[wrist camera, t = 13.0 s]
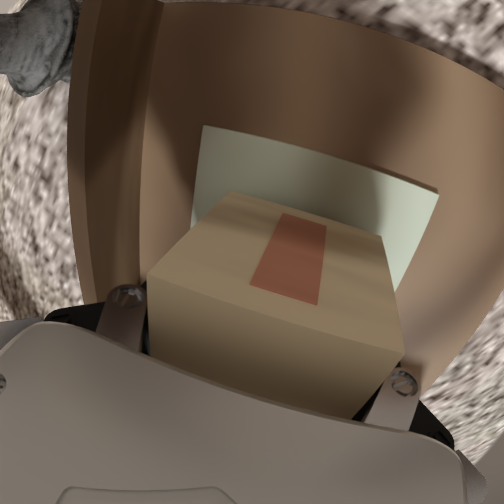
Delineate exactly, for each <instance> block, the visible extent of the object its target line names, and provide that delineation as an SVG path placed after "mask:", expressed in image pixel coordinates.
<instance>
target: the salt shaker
mask: <svg viewBox="0 0 504 504" xmlns="http://www.w3.org/2000/svg"><path fill="white" fill-rule="evenodd" d="M82 3H83V2H81V3H78V2H76V1H75V0H28V1H27V2H26V3H25V5H24V6H23V8H22V9H21V10H20V12H17V13H13V14H0V74H6V75H7V77H8V80H9V83H10V85H11V86H12V88H13V90H14V91H15V92H16V93H18V94H19V95H21V96H25V97H31V96H34V95H37V94H39V93H40V92H42V91H43V90H44V89H45V88H47V87H49V86H51V85H53V84H54V83H56V82H57V81H59V80H60V79H61V80H62V81H64V82H66V83H68V84H70V77H71V68H72V60H73V52H74V45H75V39H76V33H77V27H78V22H79V17H80V12H81V8H82Z"/></svg>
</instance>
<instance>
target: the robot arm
mask: <svg viewBox="0 0 504 504" xmlns="http://www.w3.org/2000/svg"><path fill="white" fill-rule="evenodd" d="M421 389H422V388H421V383H420V381H419V379H418V378H417V376H416V375H415V374H414V373H412V372H411V371H410V370H407V369H405V368H401V363H400V361H399V362H398V364H397V365H396V366H395V368H394V369H393V370H392V372H391V373H390V374H389V375H388V377H387V378H386V379H385V380H384V382H383V383H382V384H381V385H380V387H379V388H378V389H377V390H376V391H375V393H374V394H373V395H372V396H371V397H370V398H369V400H368V401H367V402H366V403H365V404H364V405H363V406H362V408H361V409H360V410H359V411H358V412H357V413H356V414H355V415H354V417H353V418H352V419H351V420H349V419H344V418H339V417H335V416H330V415H326V414H322V413H317V412H313V411H309V410H305V409H301V408H298V407H294V406H290V405H287V404H283V403H279V402H276V401H272V400H269V399H266V398H262V397H259V396H256V395H253V394H249V393H246V392H243V391H240V390H237V389H234V388H231V387H228V386H225V385H222V384H219V383H217V382H214V381H211V380H208V379H205V378H203V377H200V376H197V375H195V374H192V373H189V372H187V371H184V370H182V369H179V368H177V367H174V366H172V365H169V364H167V363H164V362H162V361H160V360H157V359H155V358H153V357H151V354H150V341H149V325H148V305H147V279H146V281H145V282H144V283H143V284H142V285H141V286H138V285H133V284H123V285H119V286H117V287H115V288H113V289H112V290H111V291H110V292H109V294H108V296H107V299H106V301H105V302H99V303H92V304H86V305H80V306H74V307H68V308H61V309H57V310H54V311H52V312H51V313H49V314H48V315H47V316H46V318H45V320H41V317H35V318H27V319H20V320H13V321H5V322H0V504H481V502H482V501H483V499H484V497H485V495H486V493H487V489H488V485H487V481H486V479H485V477H484V476H483V475H482V474H481V473H480V472H479V471H478V470H477V468H476V467H475V466H474V465H473V464H472V463H471V462H470V461H469V460H468V459H467V458H466V457H465V456H464V455H463V454H462V452H461V451H460V450H459V449H458V450H457V451H455V450H454V440H453V437H452V435H451V434H450V432H449V431H448V430H447V429H446V428H445V427H444V426H443V424H442V423H441V422H440V421H439V420H438V419H437V418H436V417H435V416H434V415H433V414H432V413H431V412H430V411H429V410H428V408H427V407H426V406H425V405H424V404H423V403H422V402H421V401H420V400H419V398H420V395H421Z"/></svg>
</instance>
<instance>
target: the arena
mask: <svg viewBox="0 0 504 504" xmlns="http://www.w3.org/2000/svg"><path fill="white" fill-rule="evenodd" d="M67 167H68V189H69V204H70V215H71V225H72V234H73V242H74V249H75V256H76V263H77V269H78V275H79V281H80V286H81V291H82V296H83V301H84V305H86V304H92V303H99V302H105V301H106V299H107V296H108V294H109V292H110V291H111V290H112V289H113V288H115V287H117V286H119V285H123V284H133V285H138V286H141V285H142V284H143V283H144V282H145V281H146V279H147V273H148V272H149V271H150V270H151V269H152V268H153V267H154V266H155V264H156V263H157V262H158V261H159V260H160V259H161V258H162V257H163V256H164V255H165V254H166V253H167V252H168V251H169V250H170V249H171V248H172V247H173V246H174V245H175V244H176V243H177V242H178V241H179V240H180V239H181V238H182V237H183V236H184V235H185V234H186V233H187V232H188V231H189V230H190V229H191V228H192V227H193V226H194V225H195V224H196V223H197V222H198V221H199V220H200V219H201V218H202V217H203V216H204V215H206V214H207V213H208V212H209V211H210V210H211V209H212V208H213V207H214V206H215V205H216V204H217V203H218V202H219V201H220V200H221V199H222V198H223V197H224V196H225V195H226V194H228V193H229V192H230V191H233V192H237V193H241V194H245V195H248V196H252V197H256V198H259V199H263V200H266V201H270V202H273V203H277V204H280V205H284V206H287V207H291V208H294V209H297V210H301V211H304V212H308V213H311V214H314V215H317V216H321V217H324V218H327V219H330V220H334V221H337V222H340V223H343V224H346V225H349V226H352V227H356V228H359V229H362V230H365V231H368V232H371V233H374V234H377V235H380V236H381V237H382V241H383V244H384V248H385V252H386V256H387V261H388V265H389V269H390V274H391V278H392V283H393V288H394V292H395V297H396V302H397V308H398V313H399V319H400V325H401V331H402V337H403V343H404V350H405V354H404V356H403V357H402V358H401V360H400V363H401V368H405V369H407V370H410V371H411V372H412V373H414V374H415V375H416V376H417V378H418V379H419V381H420V383H421V388H422V389H421V395H420V397H421V396H422V395H423V394H424V392H425V391H426V390H427V389H428V388H429V387H430V386H431V385H432V384H433V383H434V382H435V380H436V379H437V378H438V377H439V376H440V375H441V374H442V372H443V371H444V370H445V369H446V368H447V367H448V365H449V364H450V363H451V362H452V361H453V359H454V358H455V357H456V356H457V354H458V353H459V352H460V351H461V349H462V348H463V347H464V346H465V344H466V343H467V342H468V340H469V339H470V338H471V336H472V335H473V334H474V332H475V331H476V329H477V328H478V327H479V325H480V324H481V322H482V321H483V319H484V318H485V317H486V315H487V314H488V312H489V311H490V309H491V308H492V306H493V305H494V303H495V301H496V300H497V298H498V297H499V295H500V293H501V292H502V290H503V289H504V90H503V89H502V88H500V87H499V86H497V85H495V84H494V83H492V82H491V81H489V80H487V79H485V78H484V77H482V76H480V75H478V74H477V73H475V72H473V71H471V70H469V69H467V68H466V67H464V66H462V65H460V64H458V63H456V62H454V61H452V60H450V59H448V58H446V57H443V56H441V55H439V54H437V53H435V52H432V51H430V50H428V49H426V48H423V47H421V46H418V45H416V44H413V43H411V42H408V41H406V40H403V39H400V38H398V37H395V36H392V35H389V34H386V33H383V32H380V31H377V30H374V29H371V28H368V27H365V26H361V25H358V24H354V23H350V22H347V21H343V20H339V19H335V18H331V17H326V16H322V15H317V14H312V13H307V12H302V11H296V10H290V9H283V8H276V7H269V6H260V5H250V4H238V3H218V2H177V3H163V2H160V1H157V0H83V3H82V8H81V12H80V17H79V22H78V27H77V33H76V39H75V45H74V52H73V60H72V68H71V77H70V88H69V102H68V124H67Z"/></svg>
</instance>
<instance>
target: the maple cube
mask: <svg viewBox="0 0 504 504" xmlns="http://www.w3.org/2000/svg"><path fill="white" fill-rule="evenodd" d="M147 305H148V325H149V341H150V354H151V357H153V358H155V359H157V360H160V361H162V362H164V363H167V364H169V365H172V366H174V367H177V368H179V369H182V370H184V371H187V372H189V373H192V374H195V375H197V376H200V377H203V378H205V379H208V380H211V381H214V382H217V383H219V384H222V385H225V386H228V387H231V388H234V389H237V390H240V391H243V392H246V393H249V394H253V395H256V396H259V397H262V398H266V399H269V400H272V401H276V402H279V403H283V404H287V405H290V406H294V407H298V408H301V409H305V410H309V411H313V412H317V413H322V414H326V415H330V416H335V417H339V418H344V419H349V420H351V419H352V418H353V417H354V415H355V414H356V413H357V412H358V411H359V410H360V409H361V408H362V406H363V405H364V404H365V403H366V402H367V401H368V400H369V398H370V397H371V396H372V395H373V394H374V393H375V391H376V390H377V389H378V388H379V387H380V385H381V384H382V383H383V382H384V380H385V379H386V378H387V377H388V375H389V374H390V373H391V372H392V370H393V369H394V368H395V366H396V365H397V364H398V362H399V361H400V360H401V358H402V357H403V356H404V354H405V350H404V343H403V337H402V331H401V325H400V319H399V313H398V308H397V302H396V297H395V292H394V288H393V283H392V278H391V274H390V269H389V265H388V261H387V256H386V252H385V248H384V244H383V241H382V237H381V236H380V235H377V234H374V233H371V232H368V231H365V230H362V229H359V228H356V227H352V226H349V225H346V224H343V223H340V222H337V221H334V220H330V219H327V218H324V217H321V216H317V215H314V214H311V213H308V212H304V211H301V210H297V209H294V208H291V207H287V206H284V205H280V204H277V203H273V202H270V201H266V200H263V199H259V198H256V197H252V196H248V195H245V194H241V193H237V192H233V191H230V192H229V193H228V194H226V195H225V196H224V197H223V198H222V199H221V200H220V201H219V202H218V203H217V204H216V205H215V206H214V207H213V208H212V209H211V210H210V211H209V212H208V213H207V214H206V215H204V216H203V217H202V218H201V219H200V220H199V221H198V222H197V223H196V224H195V225H194V226H193V227H192V228H191V229H190V230H189V231H188V232H187V233H186V234H185V235H184V236H183V237H182V238H181V239H180V240H179V241H178V242H177V243H176V244H175V245H174V246H173V247H172V248H171V249H170V250H169V251H168V252H167V253H166V254H165V255H164V256H163V257H162V258H161V259H160V260H159V261H158V262H157V263H156V264H155V266H154V267H153V268H152V269H151V270H150V271H149V272H148V273H147Z"/></svg>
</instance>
